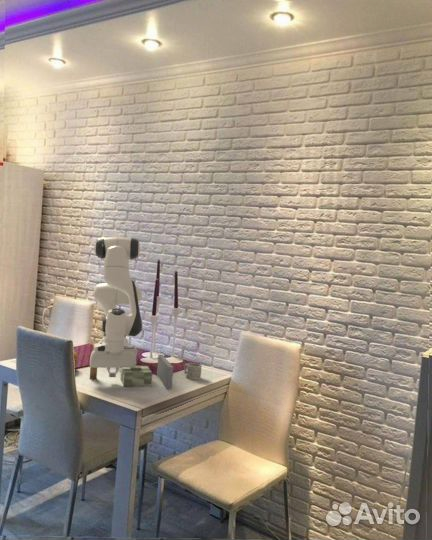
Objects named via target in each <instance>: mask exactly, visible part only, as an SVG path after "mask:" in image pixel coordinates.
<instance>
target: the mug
mask: <svg viewBox="0 0 432 540" xmlns="http://www.w3.org/2000/svg"><path fill="white" fill-rule="evenodd" d="M183 373H184V374H186V379H187V380H190V381H200V380H201V376H202V364H201V363H198V362H189V363H185V364H184V368H183Z"/></svg>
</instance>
